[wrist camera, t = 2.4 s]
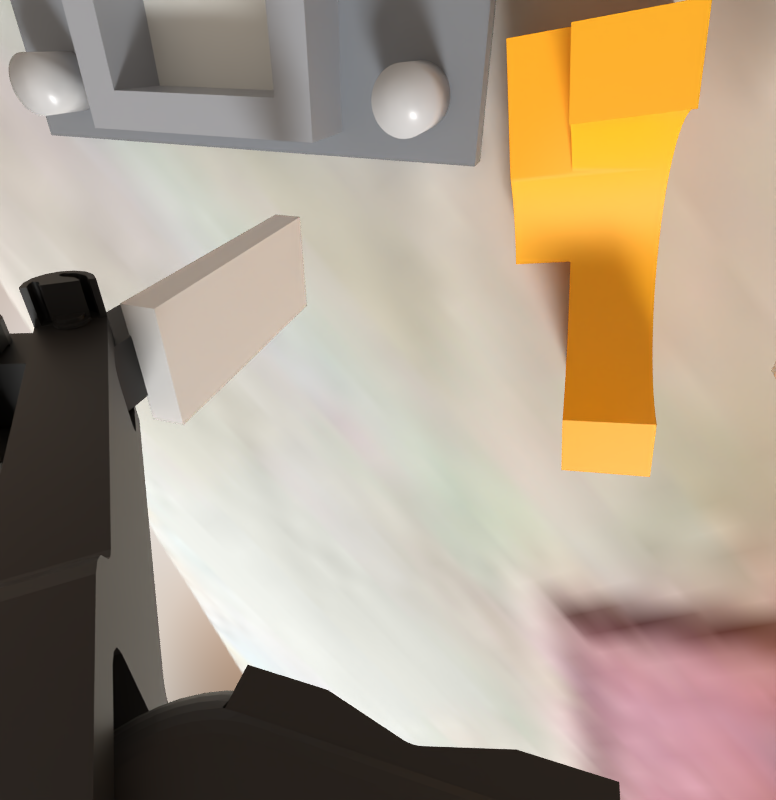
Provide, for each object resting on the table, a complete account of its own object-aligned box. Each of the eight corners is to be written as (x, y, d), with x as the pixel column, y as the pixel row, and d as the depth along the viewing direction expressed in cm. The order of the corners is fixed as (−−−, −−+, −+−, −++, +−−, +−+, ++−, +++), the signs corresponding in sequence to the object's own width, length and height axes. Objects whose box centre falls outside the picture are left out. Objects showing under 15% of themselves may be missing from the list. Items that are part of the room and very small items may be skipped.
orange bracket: (519, 38, 17) (487, 37, 12) (673, 10, 15) (712, -5, 10) (526, 371, 23) (506, 465, 18) (636, 373, 22) (649, 476, 16)
